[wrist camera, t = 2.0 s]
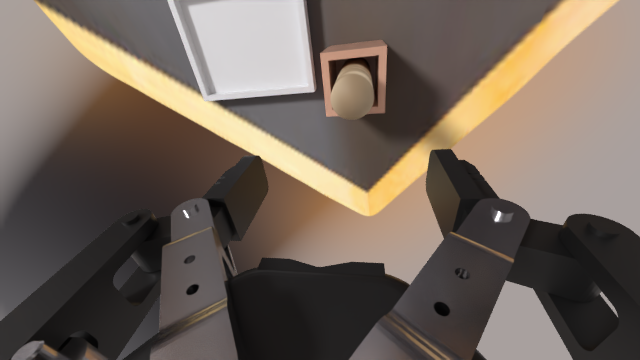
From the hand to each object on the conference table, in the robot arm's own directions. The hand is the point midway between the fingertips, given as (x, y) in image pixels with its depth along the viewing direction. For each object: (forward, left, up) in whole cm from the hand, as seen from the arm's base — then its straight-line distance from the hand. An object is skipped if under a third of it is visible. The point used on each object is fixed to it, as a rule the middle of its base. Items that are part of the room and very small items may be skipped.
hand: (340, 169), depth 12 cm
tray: (+15, -5, -28) cm, 32 cm away
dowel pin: (0, 0, -27) cm, 27 cm away
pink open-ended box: (0, 0, -28) cm, 28 cm away
